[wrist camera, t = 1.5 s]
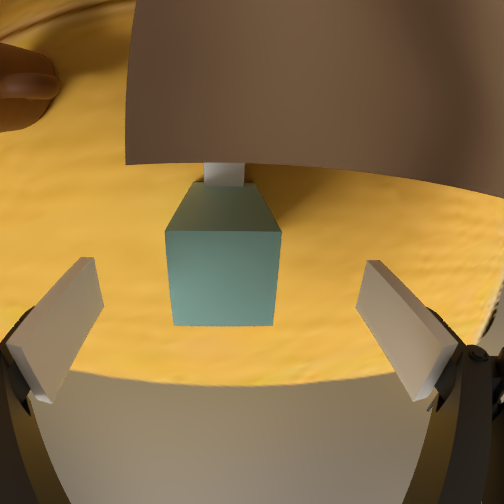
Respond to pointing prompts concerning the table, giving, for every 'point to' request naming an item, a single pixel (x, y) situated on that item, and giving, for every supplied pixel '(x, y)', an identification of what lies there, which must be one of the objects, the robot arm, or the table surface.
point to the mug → (24, 87)
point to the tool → (223, 252)
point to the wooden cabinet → (322, 86)
